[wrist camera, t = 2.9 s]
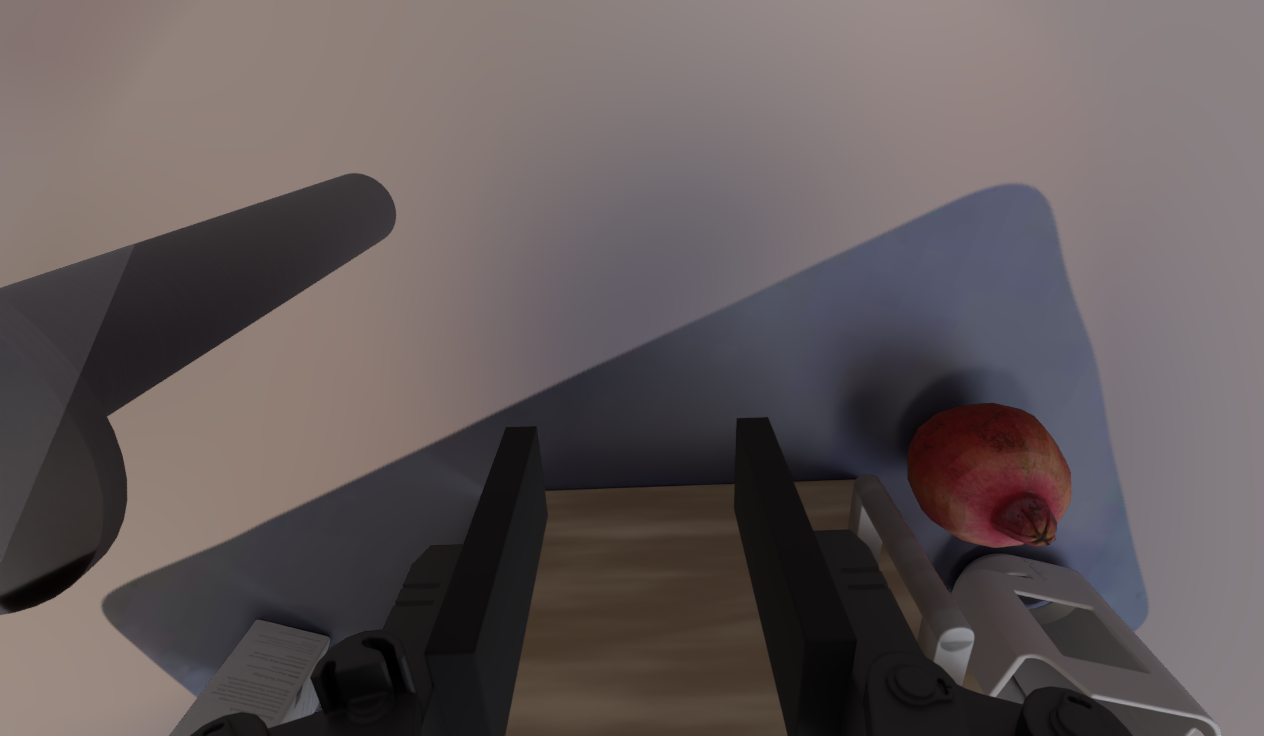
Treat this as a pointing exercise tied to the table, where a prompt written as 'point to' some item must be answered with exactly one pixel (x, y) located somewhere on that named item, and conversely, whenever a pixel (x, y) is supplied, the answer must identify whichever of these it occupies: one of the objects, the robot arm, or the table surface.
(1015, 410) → the fruit
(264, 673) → the cosmetic box
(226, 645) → the table surface
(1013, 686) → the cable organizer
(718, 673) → the cupboard door
